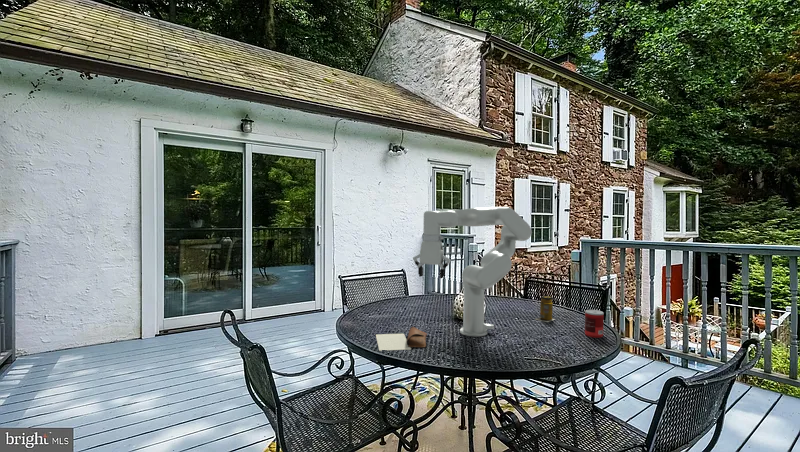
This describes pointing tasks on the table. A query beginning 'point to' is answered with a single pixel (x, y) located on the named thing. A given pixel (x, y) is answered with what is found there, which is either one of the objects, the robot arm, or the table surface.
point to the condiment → (546, 309)
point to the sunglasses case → (416, 338)
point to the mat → (392, 342)
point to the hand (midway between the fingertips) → (431, 277)
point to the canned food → (594, 323)
